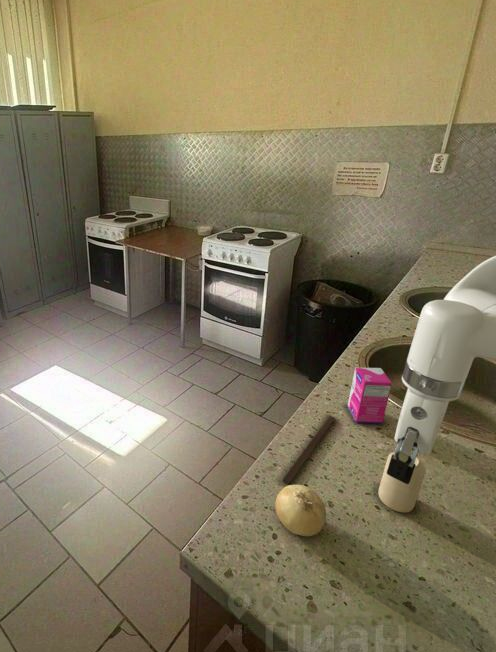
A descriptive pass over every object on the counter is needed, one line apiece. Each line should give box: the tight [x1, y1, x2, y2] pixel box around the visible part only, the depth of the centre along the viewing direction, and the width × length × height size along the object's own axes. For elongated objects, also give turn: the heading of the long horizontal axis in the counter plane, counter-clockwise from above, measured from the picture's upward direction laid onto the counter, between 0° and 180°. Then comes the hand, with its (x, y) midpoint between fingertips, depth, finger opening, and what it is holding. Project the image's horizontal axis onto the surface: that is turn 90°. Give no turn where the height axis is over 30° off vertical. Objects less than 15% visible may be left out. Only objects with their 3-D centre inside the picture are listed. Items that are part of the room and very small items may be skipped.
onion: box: [274, 484, 327, 537], centre depth 66 cm, size 8×8×7 cm
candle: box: [378, 451, 427, 514], centre depth 69 cm, size 6×6×10 cm
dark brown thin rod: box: [282, 415, 336, 486], centre depth 83 cm, size 1×24×1 cm, turn 136°
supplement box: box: [347, 366, 393, 425], centre depth 89 cm, size 6×6×12 cm
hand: (404, 461), depth 68 cm, fingers open, 9 cm apart
